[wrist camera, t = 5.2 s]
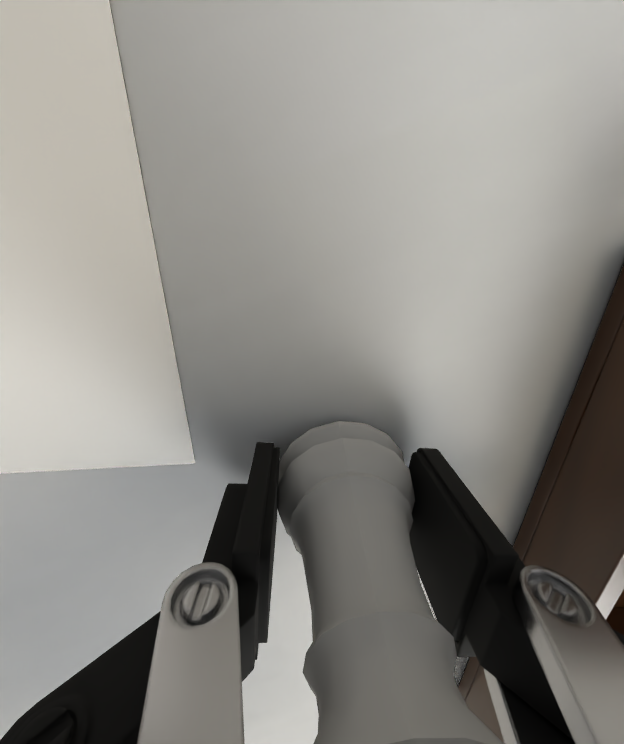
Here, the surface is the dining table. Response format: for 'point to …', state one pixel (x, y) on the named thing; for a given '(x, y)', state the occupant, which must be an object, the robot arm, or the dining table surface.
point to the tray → (579, 495)
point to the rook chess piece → (368, 595)
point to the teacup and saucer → (77, 256)
